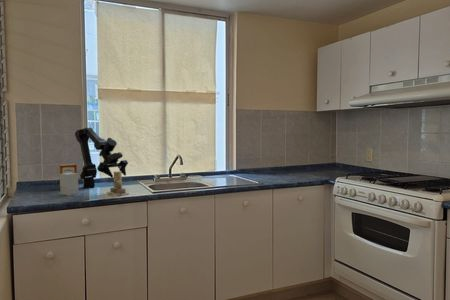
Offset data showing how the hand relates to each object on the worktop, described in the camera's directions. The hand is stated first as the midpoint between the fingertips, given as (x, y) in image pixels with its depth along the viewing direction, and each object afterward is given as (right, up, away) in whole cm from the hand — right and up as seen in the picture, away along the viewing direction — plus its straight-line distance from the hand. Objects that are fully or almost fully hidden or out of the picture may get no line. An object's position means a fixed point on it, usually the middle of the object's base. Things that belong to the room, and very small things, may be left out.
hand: (119, 176), depth 205 cm
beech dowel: (-1, -7, +1) cm, 8 cm away
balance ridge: (-1, -11, +2) cm, 11 cm away
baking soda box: (-39, -10, +18) cm, 44 cm away
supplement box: (-30, -11, 0) cm, 32 cm away
